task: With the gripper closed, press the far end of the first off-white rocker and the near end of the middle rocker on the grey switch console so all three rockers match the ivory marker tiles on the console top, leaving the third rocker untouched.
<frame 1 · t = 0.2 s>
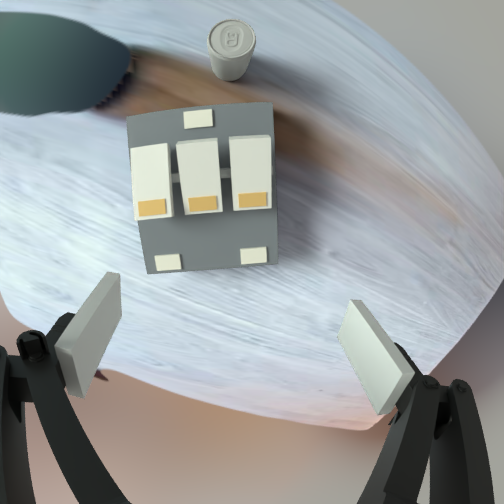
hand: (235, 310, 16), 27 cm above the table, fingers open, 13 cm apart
rocker c: (250, 173, 31), point 9 cm above the table, hinge at 12.0°
beverage can: (229, 66, 34), on the table
console: (206, 183, 40), on the table
rocker b: (200, 177, 31), point 9 cm above the table, hinge at 12.0°
rocker a: (151, 182, 31), point 9 cm above the table, hinge at -12.0°
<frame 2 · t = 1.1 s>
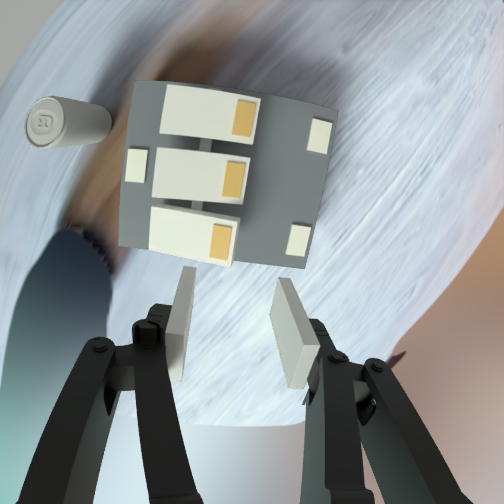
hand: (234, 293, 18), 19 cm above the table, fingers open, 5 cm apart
rocker c: (209, 114, 23), point 9 cm above the table, hinge at 12.0°
beverage can: (96, 124, 30), on the table
console: (223, 169, 33), on the table
rocker b: (200, 175, 25), point 9 cm above the table, hinge at 12.0°
rocker a: (192, 234, 27), point 9 cm above the table, hinge at -12.0°
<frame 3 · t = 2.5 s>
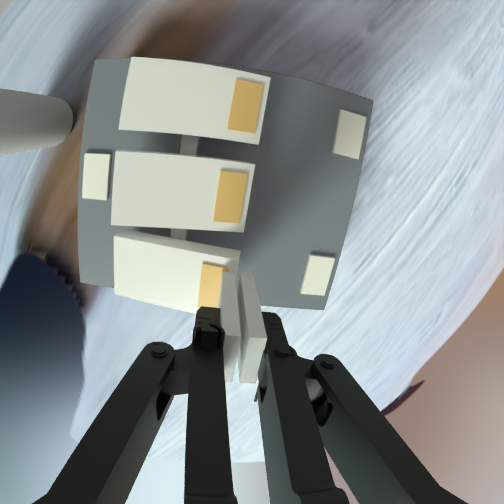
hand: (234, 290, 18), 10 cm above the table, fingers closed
rocker c: (194, 99, 15), point 9 cm above the table, hinge at 12.0°
beverage can: (56, 122, 22), on the table
console: (216, 177, 25), on the table
rocker b: (181, 190, 17), point 9 cm above the table, hinge at 12.0°
rocker a: (172, 274, 19), point 9 cm above the table, hinge at -10.6°, touching gripper
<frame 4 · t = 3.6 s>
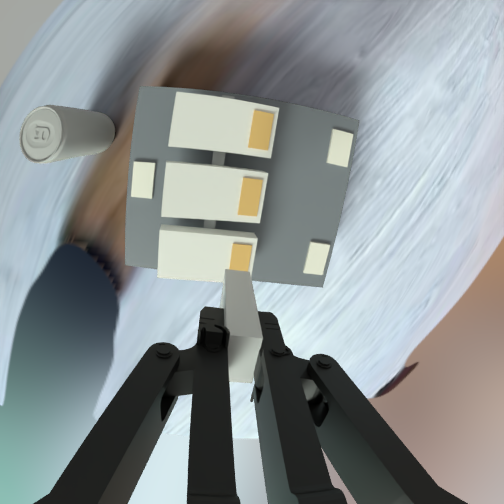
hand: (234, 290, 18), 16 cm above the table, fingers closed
rocker c: (223, 125, 22), point 9 cm above the table, hinge at 12.0°
beverage can: (98, 133, 28), on the table
console: (235, 181, 32), on the table
rocker b: (213, 192, 23), point 9 cm above the table, hinge at 12.0°
rocker a: (206, 255, 25), point 9 cm above the table, hinge at 6.0°
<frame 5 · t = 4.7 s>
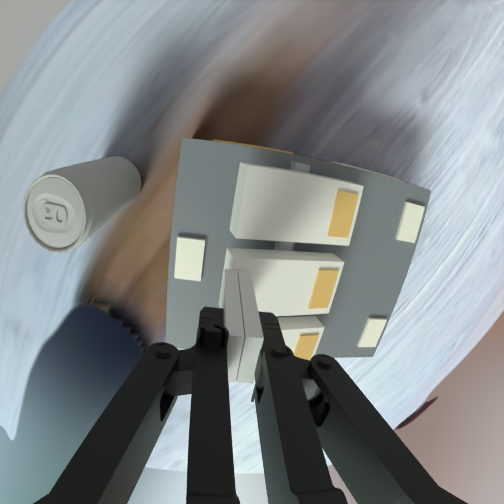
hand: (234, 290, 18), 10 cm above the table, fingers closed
rocker c: (300, 206, 18), point 9 cm above the table, hinge at 12.0°
beverage can: (119, 181, 25), on the table
console: (286, 245, 29), on the table
rocker b: (282, 284, 20), point 9 cm above the table, hinge at 12.0°, touching gripper
rocker a: (267, 346, 22), point 9 cm above the table, hinge at 10.6°
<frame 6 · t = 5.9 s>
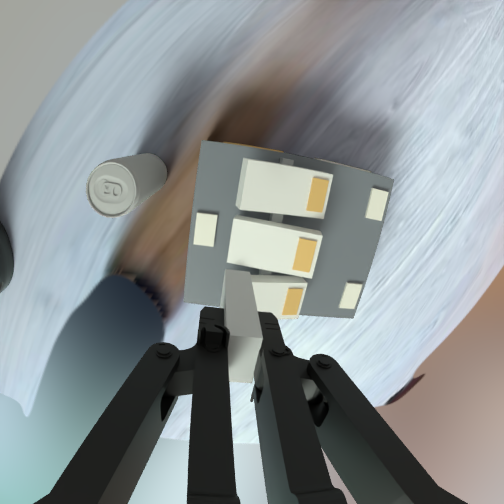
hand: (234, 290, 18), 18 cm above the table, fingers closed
rocker c: (285, 189, 26), point 9 cm above the table, hinge at 12.0°
beverage can: (148, 173, 33), on the table
console: (280, 224, 36), on the table
rocker b: (274, 246, 28), point 9 cm above the table, hinge at -9.9°
rocker a: (263, 298, 29), point 9 cm above the table, hinge at 11.9°
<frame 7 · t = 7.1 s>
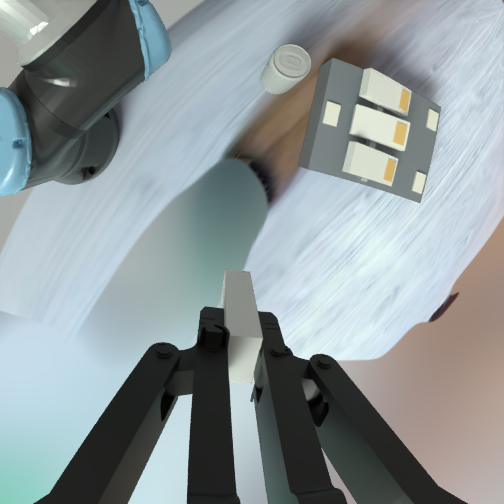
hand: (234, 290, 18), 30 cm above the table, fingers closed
rocker c: (387, 92, 34), point 9 cm above the table, hinge at 12.0°
beverage can: (275, 81, 40), on the table
console: (366, 132, 44), on the table
rocker b: (380, 127, 35), point 9 cm above the table, hinge at -13.8°
rocker a: (372, 164, 37), point 9 cm above the table, hinge at 12.3°
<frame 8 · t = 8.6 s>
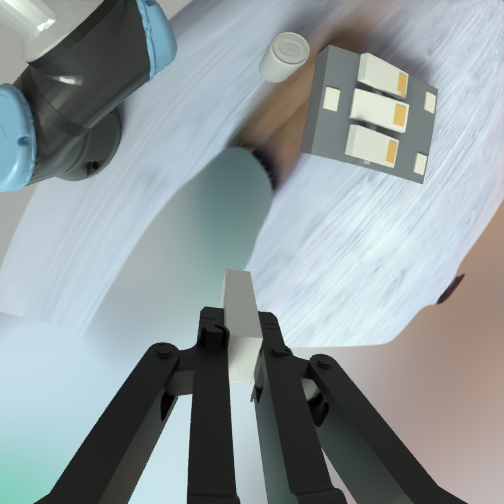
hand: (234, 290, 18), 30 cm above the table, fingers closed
rocker c: (384, 76, 33), point 9 cm above the table, hinge at 12.0°
beverage can: (274, 69, 40), on the table
console: (365, 117, 43), on the table
rocker b: (379, 110, 35), point 9 cm above the table, hinge at -14.9°
rocker a: (373, 146, 37), point 9 cm above the table, hinge at 12.3°
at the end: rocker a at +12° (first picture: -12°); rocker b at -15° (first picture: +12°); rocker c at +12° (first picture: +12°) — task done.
